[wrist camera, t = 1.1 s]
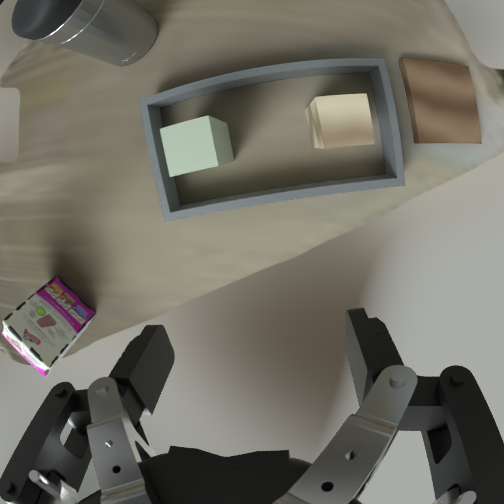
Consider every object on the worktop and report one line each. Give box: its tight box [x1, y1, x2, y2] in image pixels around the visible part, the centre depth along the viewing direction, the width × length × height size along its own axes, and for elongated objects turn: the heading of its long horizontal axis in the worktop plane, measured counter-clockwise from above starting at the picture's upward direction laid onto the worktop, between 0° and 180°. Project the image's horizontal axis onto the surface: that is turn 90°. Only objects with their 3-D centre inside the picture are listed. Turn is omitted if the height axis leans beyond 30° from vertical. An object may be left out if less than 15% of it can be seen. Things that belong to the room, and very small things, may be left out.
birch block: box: [306, 93, 375, 149], centre depth 28 cm, size 5×5×10 cm
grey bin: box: [139, 58, 405, 222], centre depth 31 cm, size 16×30×4 cm, turn 101°
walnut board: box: [399, 58, 482, 144], centre depth 28 cm, size 12×12×2 cm
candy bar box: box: [2, 276, 96, 378], centre depth 39 cm, size 11×5×16 cm, turn 49°
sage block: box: [160, 116, 234, 177], centre depth 30 cm, size 5×5×10 cm
